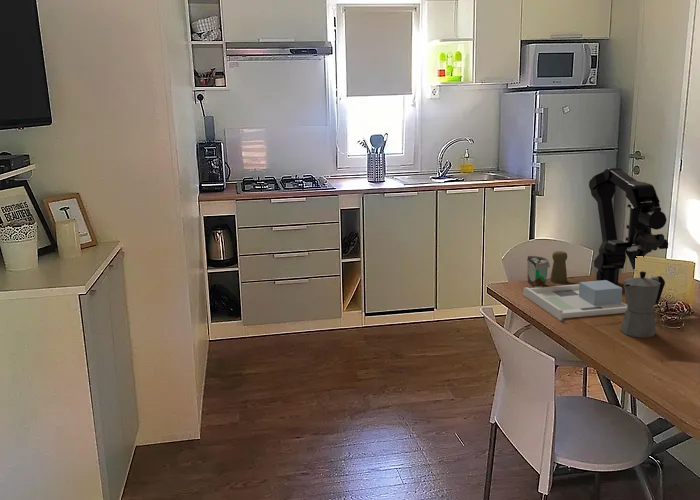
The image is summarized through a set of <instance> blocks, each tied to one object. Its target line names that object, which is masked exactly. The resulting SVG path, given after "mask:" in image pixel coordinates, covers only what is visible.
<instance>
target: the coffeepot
mask: <svg viewBox="0 0 700 500" xmlns="http://www.w3.org/2000/svg"><path fill="white" fill-rule="evenodd" d="M646 274H647V272H646V271H643V270H642V271H639V276H637V277H627V278H626V279H624V280H623V283H624V284H623V288H624V298H625V304H627V309H626V311H625V313H624V316H623V320H622V323H621V326H620V331H621V332H622V333H623V334H624V335H626V336H630V337H633V338H642V339H646V338H652V337H654V336H655V334H656V333H657V329H656V328H657V327H656V319H655V318H656V317H655V312H654V307H655V305H657V304H659V303H660V299H661V297H662V293H663V291H664V288H665V285H666V280H665V279H664V277H662V276H660V275H658V276H653V277H650V278H648V277H646Z"/></svg>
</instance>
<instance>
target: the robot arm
mask: <svg viewBox="0 0 700 500" xmlns="http://www.w3.org/2000/svg"><path fill="white" fill-rule="evenodd" d="M617 187H619V188H620V190H622V191H624V192H625V197H626V199H627V200H628V201H629V202H630V203H628V204H627V208H629V221H628V222H629V223H628V224H626V229H627V230H628V232H627V234H628V235H627V236H626V237H625V241H623V240H620V239H619V238H618V233H617V227H616V221H615V219H616V218H615V213H614V207H613V206H614V205H613V204H614V203H613V198H614V195H615V194H616V193H617V192H616V189H617ZM588 188H589V190H590V193H591V194H590V195H591V196H592V198H594V200H595V201H596V202H597V203H596V204H597V208H598V209H597V210H598V218H599V224H600V232H601V240H602V242H601V244H600V245H599V246H600V247H599V248H598V254H597V256H596V258H595V259H594V261H593V266H594V267H595V269H597V271H596V280H595V281H601V280H607V281H609V282H611V283H613V284H615V285H617V284H619V273H620V269H621V270H622V269H624V266H625V263H626V260H627V258H628V260H629V263H630V265H631V267H632V270H633V271H635V270H634V269H635V258H637V257H636V256H643V257H644V258H645V256H646V255H647V254H649V253H652V251H657V250H666V249H669V241H668V240H667V239H666V238H665V235H664V234H663V233H656V234H653V233H652V230H656V231H657V230H660V229H663V228H664V227H665V225H666V224H667V221H668V220H667V219H668V218H667V216H666V214H665V212H663V211H662V207H661V204H660V202H661V201H660V199H659V197H658V194H657V192H656V189H655V187H654V186H653V184H651V183H648V182H645V181H638V180H637V179H635V178H633V176H631V175H629V174H627V173H626V172H625V171H623V169H622V168H620V167H608V168H606V169H605V170H604V171H602V172H599V173H598V174H595V175H594V176H592V177H591V179H590V180H589V182H588ZM594 267H593V268H594Z"/></svg>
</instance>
